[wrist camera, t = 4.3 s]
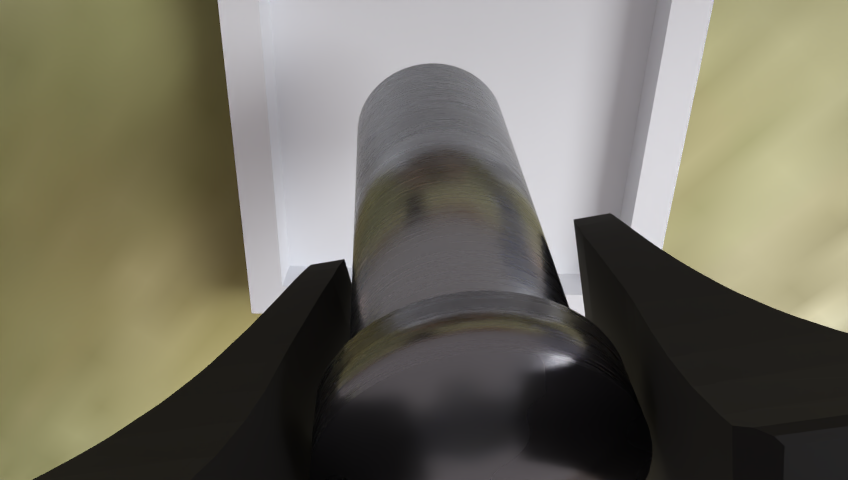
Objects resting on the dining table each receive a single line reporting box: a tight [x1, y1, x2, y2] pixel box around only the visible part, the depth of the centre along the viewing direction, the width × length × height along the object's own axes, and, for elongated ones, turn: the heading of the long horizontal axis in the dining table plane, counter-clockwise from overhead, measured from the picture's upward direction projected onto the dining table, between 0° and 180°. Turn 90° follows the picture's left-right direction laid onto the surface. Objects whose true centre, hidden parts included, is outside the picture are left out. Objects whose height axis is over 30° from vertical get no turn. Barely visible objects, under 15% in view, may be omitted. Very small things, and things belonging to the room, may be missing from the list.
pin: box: [310, 63, 652, 480], centre depth 12 cm, size 4×4×9 cm
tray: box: [218, 0, 714, 316], centre depth 20 cm, size 12×12×2 cm
